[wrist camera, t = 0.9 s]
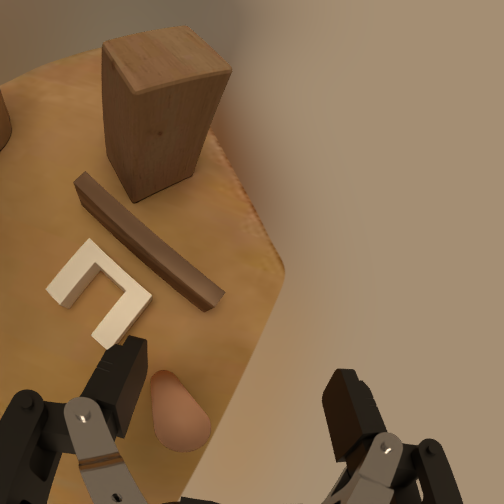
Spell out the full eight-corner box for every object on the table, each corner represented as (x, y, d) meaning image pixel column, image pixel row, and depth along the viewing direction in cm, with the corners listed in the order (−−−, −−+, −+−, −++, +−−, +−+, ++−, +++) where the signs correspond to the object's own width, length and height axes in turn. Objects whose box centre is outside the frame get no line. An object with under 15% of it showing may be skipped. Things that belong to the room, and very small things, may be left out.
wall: (203, 312, 35) (214, 306, 29) (81, 204, 33) (73, 181, 27) (213, 300, 35) (225, 292, 30) (91, 194, 33) (85, 171, 28)
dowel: (147, 372, 30) (147, 407, 14) (175, 368, 31) (203, 396, 15) (154, 399, 29) (163, 456, 13) (182, 394, 30) (217, 445, 14)
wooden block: (133, 205, 35) (134, 91, 18) (105, 153, 36) (100, 40, 18) (193, 176, 40) (235, 68, 22) (162, 130, 40) (187, 23, 23)
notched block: (113, 349, 29) (108, 351, 26) (55, 295, 28) (45, 289, 25) (151, 300, 33) (152, 295, 29) (94, 248, 32) (89, 237, 28)
